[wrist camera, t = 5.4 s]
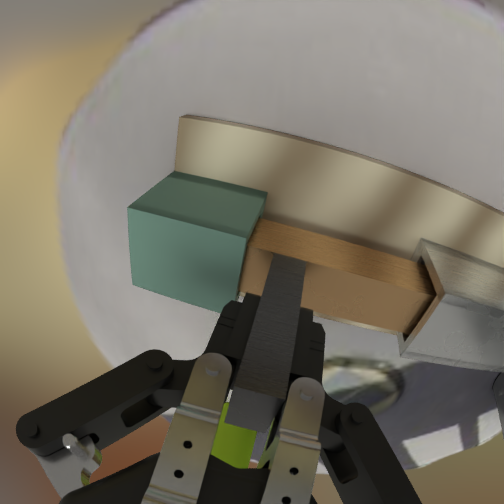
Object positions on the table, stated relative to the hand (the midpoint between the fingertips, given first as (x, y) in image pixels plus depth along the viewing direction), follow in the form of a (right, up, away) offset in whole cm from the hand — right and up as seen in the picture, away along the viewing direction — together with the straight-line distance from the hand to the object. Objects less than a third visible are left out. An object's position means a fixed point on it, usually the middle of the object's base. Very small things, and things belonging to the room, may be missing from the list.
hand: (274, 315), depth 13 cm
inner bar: (+5, +2, +4) cm, 7 cm away
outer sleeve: (+14, +1, +6) cm, 15 cm away
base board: (+6, +3, +6) cm, 9 cm away
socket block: (-3, +6, +7) cm, 10 cm away
